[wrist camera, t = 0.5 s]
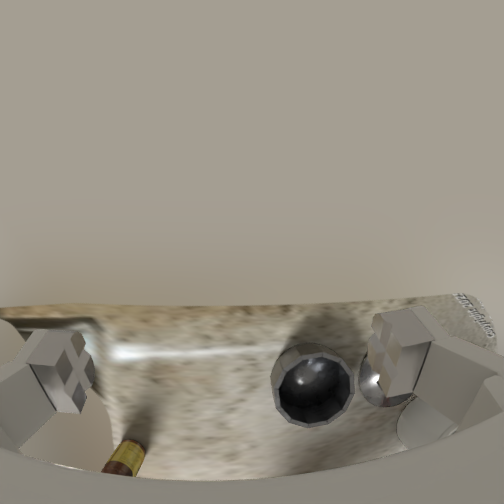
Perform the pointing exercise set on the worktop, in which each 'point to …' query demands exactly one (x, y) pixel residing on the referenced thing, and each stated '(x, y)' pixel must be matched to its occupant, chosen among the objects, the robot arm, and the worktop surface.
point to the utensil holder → (422, 424)
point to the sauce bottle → (125, 459)
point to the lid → (376, 388)
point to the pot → (311, 385)
